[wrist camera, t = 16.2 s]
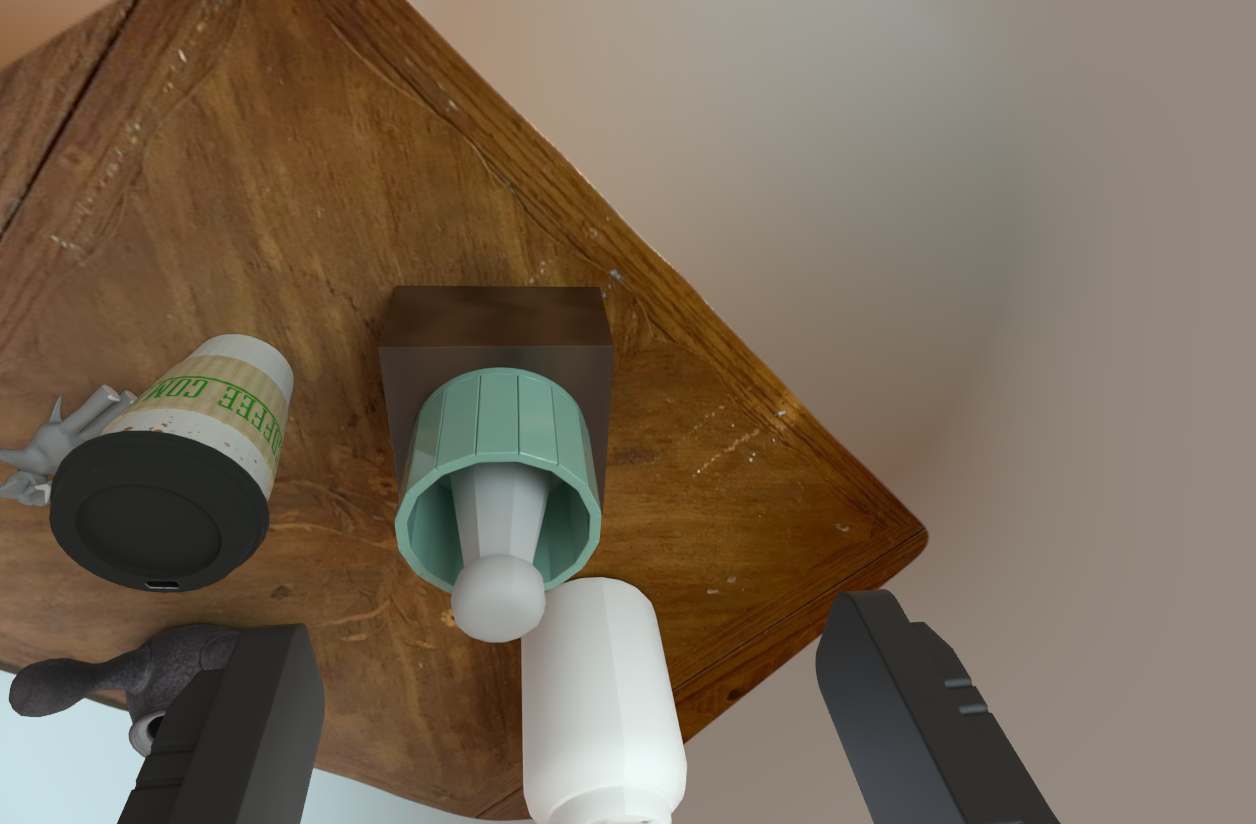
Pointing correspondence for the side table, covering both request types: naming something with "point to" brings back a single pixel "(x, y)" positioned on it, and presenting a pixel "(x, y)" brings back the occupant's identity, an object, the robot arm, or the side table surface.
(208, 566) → the coffee cup
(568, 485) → the green cup
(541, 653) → the can
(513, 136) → the side table surface
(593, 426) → the block
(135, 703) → the teapot
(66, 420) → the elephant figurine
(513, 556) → the salt shaker
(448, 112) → the side table surface
